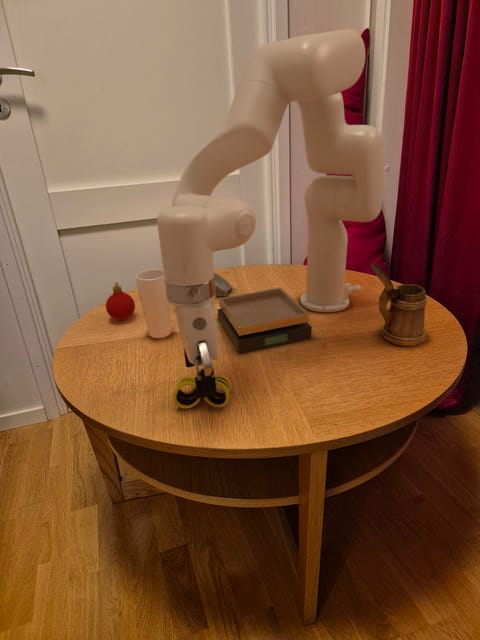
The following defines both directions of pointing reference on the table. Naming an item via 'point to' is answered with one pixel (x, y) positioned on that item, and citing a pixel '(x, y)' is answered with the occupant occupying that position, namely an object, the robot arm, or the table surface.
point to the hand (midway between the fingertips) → (200, 379)
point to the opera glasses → (191, 398)
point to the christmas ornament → (120, 304)
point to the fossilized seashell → (221, 286)
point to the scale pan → (262, 311)
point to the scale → (264, 335)
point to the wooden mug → (402, 311)
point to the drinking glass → (154, 302)
